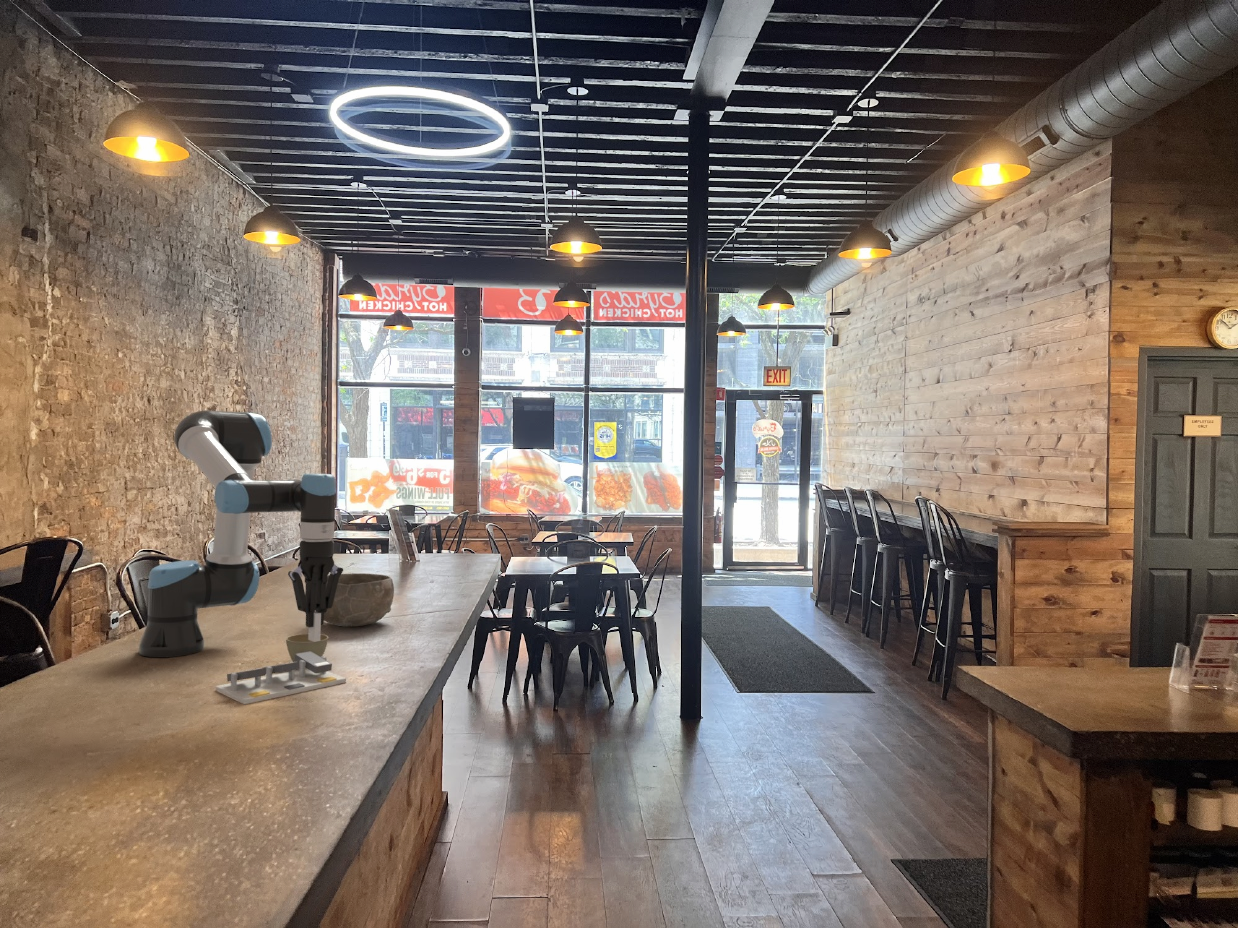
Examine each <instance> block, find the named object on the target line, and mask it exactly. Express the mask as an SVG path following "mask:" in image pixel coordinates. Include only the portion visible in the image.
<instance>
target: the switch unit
mask: <svg viewBox="0 0 1238 928" xmlns="http://www.w3.org/2000/svg"><path fill="white" fill-rule="evenodd" d="M321 658H323V659H324V660H326V661H327V657H326V656H324V655H323V656H321ZM292 662H293V661H289V662H288V663H292ZM299 665H300V669H296V670H291V671H285V672H280V673H275V674H273V673H272V667H270V666H271V665H270V666H269V665H267V666H265V667H266V675H265V676H259V677H254V678H249V679H244V680H242V681H241V680H237V674H236V673H237V672H231V673H230V674H231V681H230V682H229V683H225V684H219V685H215V692H218V693H220V694H222V695H224V696H226V697H227V698H228V697H229V698H230V699H232V700H234V701H236V702H238V703H241V704H242V705H247V704H254V703H257V702H261V701H262V702H263V701H267V700H271V699H275V698H280V697H285V696H290V695H294V694H298V693H305V692H308V691H314V690H317V689H322V688H327V687H332V686H335V685H336V686H337V685H340V684H346V683H347V679H346V677H344V676H342V675H339V674H335V673H333V672H331V671H326V672H321V673H316V674H315V673H314V672H312V671H311V670H309V669H307V668H305V661H303V660H300V661H299ZM259 668H260V667H259ZM259 668H258V667H256V668H255V669H259Z"/></svg>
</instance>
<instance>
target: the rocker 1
mask: <svg viewBox="0 0 1238 928" xmlns="http://www.w3.org/2000/svg"><path fill="white" fill-rule="evenodd" d="M235 673H236V674H237V681H241V680H242V681H243V680H250V679H255V677H259V676H261V677H265V676H266V673H265V668H264V667H259V669H256V668H254V669H248V670H243V671H239V672H235ZM226 679H227V682H231V673H227V674H226Z"/></svg>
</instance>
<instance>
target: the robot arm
mask: <svg viewBox="0 0 1238 928" xmlns="http://www.w3.org/2000/svg"><path fill="white" fill-rule="evenodd" d="M272 439H273V438H272V431H271V427H270V425H269V423H268V421H267V419H266V418H265V417H264V416H263V415H261V414H258V413H253V412H248V411H246V412H245V411H243V412H242V411H224V410H222V411H221V410H220V411H219V410H207V409H206V410H199V411H195V412H192V413H190V414H188V415H186V417H183V419H182V420H181V421H180V422H178V425H177V426H176V427H175V431H174V443H175V446H176V449H177V450H178V452H179V453H180V454H181V456H183V458H185V459H188V460H190V461H192V462H194V463H193V464H195V465H196V466H197V468H198V469H199V470H200V471H201V473H202V474H203V475H204V476H205V477H206V479H208V480H209V482H210V483H211V485H213V487H214V488H215V489H214V503H215V504H216V505H215V506H216V512H215V523H214V533H213V534H214V535H213V544H212V545H213V548H212V551H211V552H210V553H209V554H207V556H205V564H201V565H200V563H199V562H198V561H197V560H191V559H189V560H188V559H187V560H179V561H171V562H166V563H163V564H160V565H156V566H155V567H153V568H151V570H150V571H149V575H148V582H147V583H148V584H147V591H148V594H147V595H148V596H147V624H146V626H145V629H144V631H143V634H142V637H141V639H140V642H139V646H138V654H139V655H141V656H144V657H148V658H172V657H180V656H181V657H182V656H187V655H192V654H195V653H198V652H202V651H203V650H204V648H205V639H204V638H205V637H204V635H203V632H202V630H201V627H200V623H199V621H198V611H199V609H207V608H215V607H216V608H217V607H226V606H227V607H228V606H232V607H233V606H237V605H240V604H245V603H246V604H247V603H248V602H250V601H251V600H252V599H253V598H254V597H255V595H256V594H257V591H258V589H259V588H258V587H259V584H260V574H259V570H260V569H259V566H258V565H257V563H255V562H254V561H253V557H252V555H251V554H249V553H248V546H249V545H248V544H249V535H250V534H249V533H250V526H251V525H250V522H251V521H250V520H251V513H252V514H253V513H254V514H255V513H284V512H285V513H288V512H289V513H290V512H298V513H300V520H299V521H300V524H299V525H300V526H299V528H300V529H299V538H300V539H301V541H300V542H299V552H298V553H299V562H298V564H297V567H296V568H295V569H294V570H289V571H288V573H287V575H288V577H289V579H290V580H291V583H292V587H293V592H294V597H295V603H296V607H297V610H298V611H301V612H304V613H305V626H306V628H308V631H307V632H308V633H307V634H308V640H310V641H314V642H316V641H320V634H322V633H321V632H322V631H321V627H322V626H324V623H325V621H324V613H326V612H327V609H330V608H332V605H333V601H334V597H335V593H336V589H337V584H338V580H339V577H340V575H341V574H343V572H344V567H340V566H338V565H336V564H335V559H334V554H335V542H334V540H332V539H334V538H335V515H336V495H337V488H336V477H335V476H334V474H330V473H305V474H303V476H302V477H301V479H287V480H286V479H285V480H284V479H283V480H282V479H281V480H278V479H277V480H276V479H275V480H267V479H266V480H260V479H259V480H257V479H256V480H254V478H255V470H256V468H257V467H258V466H259V465H261V464H262V459H263V458H262V457H265V456H268V455H269V454H270V453H271V450H272V445H273V444H272V443H273V440H272ZM327 575H329V579H328V583H327ZM303 576H304V581H303V579H302V577H303ZM303 582H304V583H303ZM326 583H327V587H326ZM304 584H305V586H304ZM315 610H316V611H315Z"/></svg>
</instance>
